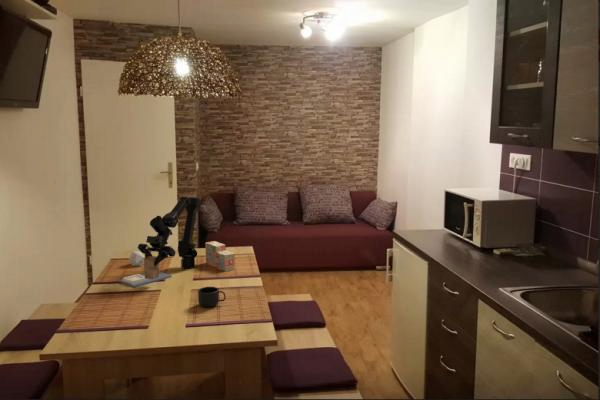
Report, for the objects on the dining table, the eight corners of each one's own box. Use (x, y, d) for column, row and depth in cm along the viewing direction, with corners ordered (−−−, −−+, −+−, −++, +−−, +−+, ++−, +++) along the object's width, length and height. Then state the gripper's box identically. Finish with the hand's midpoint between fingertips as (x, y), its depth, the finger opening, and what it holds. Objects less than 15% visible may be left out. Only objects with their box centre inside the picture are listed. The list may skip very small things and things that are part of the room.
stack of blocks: (234, 269, 277) (234, 248, 275) (224, 272, 273) (224, 249, 271) (215, 261, 294) (214, 240, 292) (205, 263, 290) (205, 242, 288)
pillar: (150, 275, 252) (149, 255, 250) (159, 276, 250) (158, 256, 249) (144, 278, 247) (143, 258, 245) (153, 279, 245) (152, 259, 244)
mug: (196, 309, 220) (196, 293, 219) (200, 301, 229) (199, 286, 228) (224, 308, 220) (224, 293, 219) (227, 301, 229) (226, 286, 228)
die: (138, 269, 279) (147, 254, 282) (124, 261, 278) (133, 246, 281) (140, 270, 287) (149, 255, 289) (126, 263, 286) (135, 248, 289)
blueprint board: (155, 271, 273) (155, 267, 272) (171, 276, 264) (171, 272, 263) (118, 281, 256) (118, 277, 255) (134, 287, 247) (134, 282, 247)
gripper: (138, 227, 251) (125, 254, 243) (171, 230, 246) (159, 258, 237) (148, 239, 260) (136, 266, 252) (180, 242, 254) (169, 269, 246)
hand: (149, 265), depth 246 cm, fingers closed on pillar, 5 cm apart
